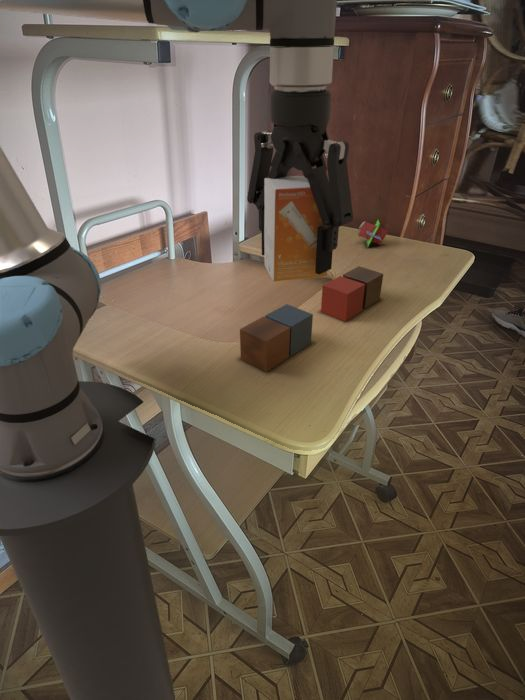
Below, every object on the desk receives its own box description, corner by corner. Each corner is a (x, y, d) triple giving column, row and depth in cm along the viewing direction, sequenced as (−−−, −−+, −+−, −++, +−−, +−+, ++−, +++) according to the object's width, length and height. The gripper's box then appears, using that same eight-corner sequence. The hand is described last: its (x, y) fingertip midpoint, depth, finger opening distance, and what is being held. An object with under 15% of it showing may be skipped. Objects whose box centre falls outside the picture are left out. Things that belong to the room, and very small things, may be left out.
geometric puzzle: (391, 233, 135) (375, 209, 132) (394, 241, 130) (378, 217, 127) (367, 247, 138) (352, 224, 135) (370, 256, 132) (354, 233, 129)
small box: (273, 283, 70) (274, 188, 63) (263, 266, 75) (263, 177, 68) (328, 277, 71) (335, 184, 64) (315, 261, 77) (319, 173, 70)
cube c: (320, 312, 101) (322, 285, 98) (337, 302, 105) (340, 275, 102) (345, 321, 98) (348, 294, 95) (362, 311, 102) (365, 284, 98)
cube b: (264, 344, 91) (264, 315, 87) (286, 332, 94) (286, 303, 91) (290, 356, 87) (291, 326, 84) (311, 343, 91) (312, 314, 88)
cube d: (340, 300, 106) (342, 274, 102) (356, 291, 109) (358, 266, 106) (364, 309, 102) (367, 282, 99) (379, 299, 106) (383, 273, 103)
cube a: (240, 359, 87) (239, 329, 83) (263, 345, 90) (263, 316, 87) (266, 372, 83) (266, 341, 80) (289, 357, 87) (290, 327, 84)
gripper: (397, 91, 56) (374, 274, 68) (256, 82, 69) (258, 237, 81) (359, 96, 52) (342, 292, 64) (216, 85, 65) (224, 250, 77)
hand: (295, 261), depth 72 cm, fingers closed on small box, 9 cm apart
